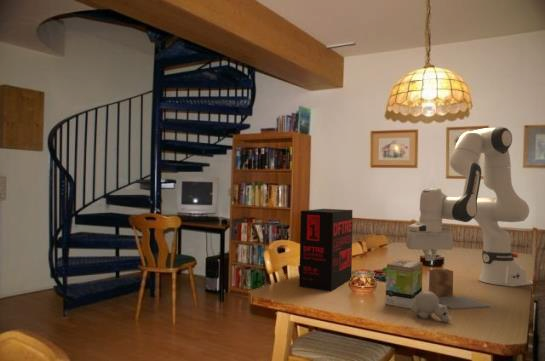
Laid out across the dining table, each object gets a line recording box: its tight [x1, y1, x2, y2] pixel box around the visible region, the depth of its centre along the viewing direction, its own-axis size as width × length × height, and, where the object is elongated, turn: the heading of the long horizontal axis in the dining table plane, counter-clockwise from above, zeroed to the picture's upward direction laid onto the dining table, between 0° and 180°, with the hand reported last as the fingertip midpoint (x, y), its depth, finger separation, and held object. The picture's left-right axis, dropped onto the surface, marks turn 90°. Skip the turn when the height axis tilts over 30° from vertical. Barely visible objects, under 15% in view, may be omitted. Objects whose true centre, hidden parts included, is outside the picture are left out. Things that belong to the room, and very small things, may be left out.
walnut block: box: [428, 268, 454, 297], centre depth 161 cm, size 8×4×10 cm, turn 104°
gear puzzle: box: [373, 266, 387, 283], centre depth 197 cm, size 31×16×4 cm, turn 139°
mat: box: [438, 295, 491, 310], centre depth 151 cm, size 16×14×1 cm
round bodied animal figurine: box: [410, 290, 453, 323], centre depth 131 cm, size 7×12×8 cm, turn 44°
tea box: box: [384, 259, 424, 309], centre depth 150 cm, size 15×10×15 cm
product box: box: [298, 208, 354, 292], centre depth 179 cm, size 26×14×32 cm, turn 151°
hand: (429, 260), depth 167 cm, fingers closed
